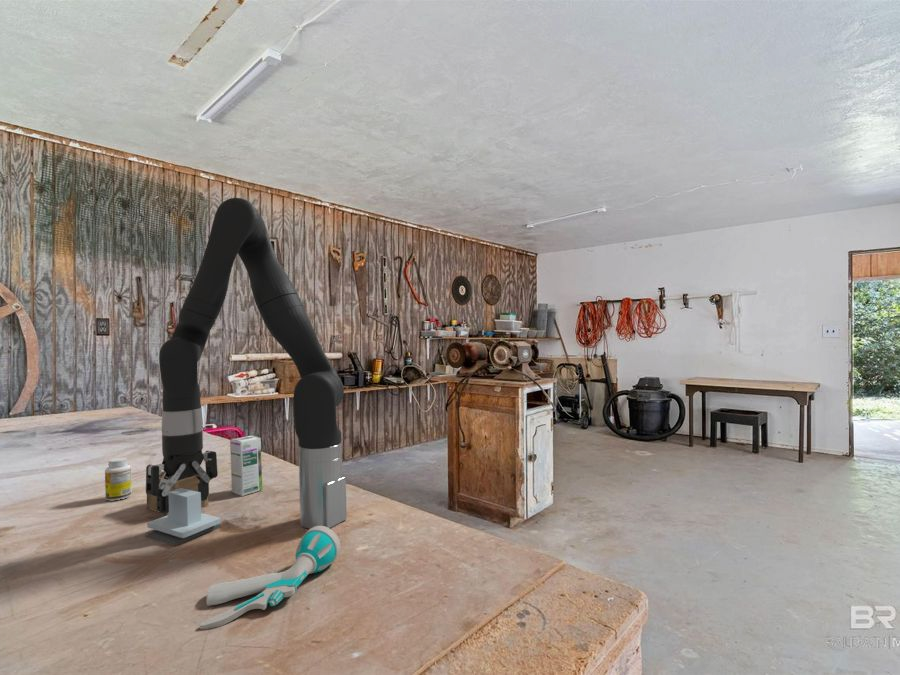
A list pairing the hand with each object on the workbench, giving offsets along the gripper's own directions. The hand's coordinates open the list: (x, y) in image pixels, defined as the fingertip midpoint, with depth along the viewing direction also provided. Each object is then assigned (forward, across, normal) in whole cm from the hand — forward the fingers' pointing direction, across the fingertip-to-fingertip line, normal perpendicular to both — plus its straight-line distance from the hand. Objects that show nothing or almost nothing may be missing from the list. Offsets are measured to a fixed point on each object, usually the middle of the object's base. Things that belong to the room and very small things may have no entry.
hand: (184, 506), depth 97 cm
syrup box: (+6, +23, +10) cm, 26 cm away
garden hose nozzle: (+6, -7, -36) cm, 37 cm away
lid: (+5, 0, 0) cm, 5 cm away
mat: (+5, 0, 0) cm, 5 cm away
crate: (+5, +8, +16) cm, 19 cm away
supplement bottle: (+6, +5, +37) cm, 38 cm away
